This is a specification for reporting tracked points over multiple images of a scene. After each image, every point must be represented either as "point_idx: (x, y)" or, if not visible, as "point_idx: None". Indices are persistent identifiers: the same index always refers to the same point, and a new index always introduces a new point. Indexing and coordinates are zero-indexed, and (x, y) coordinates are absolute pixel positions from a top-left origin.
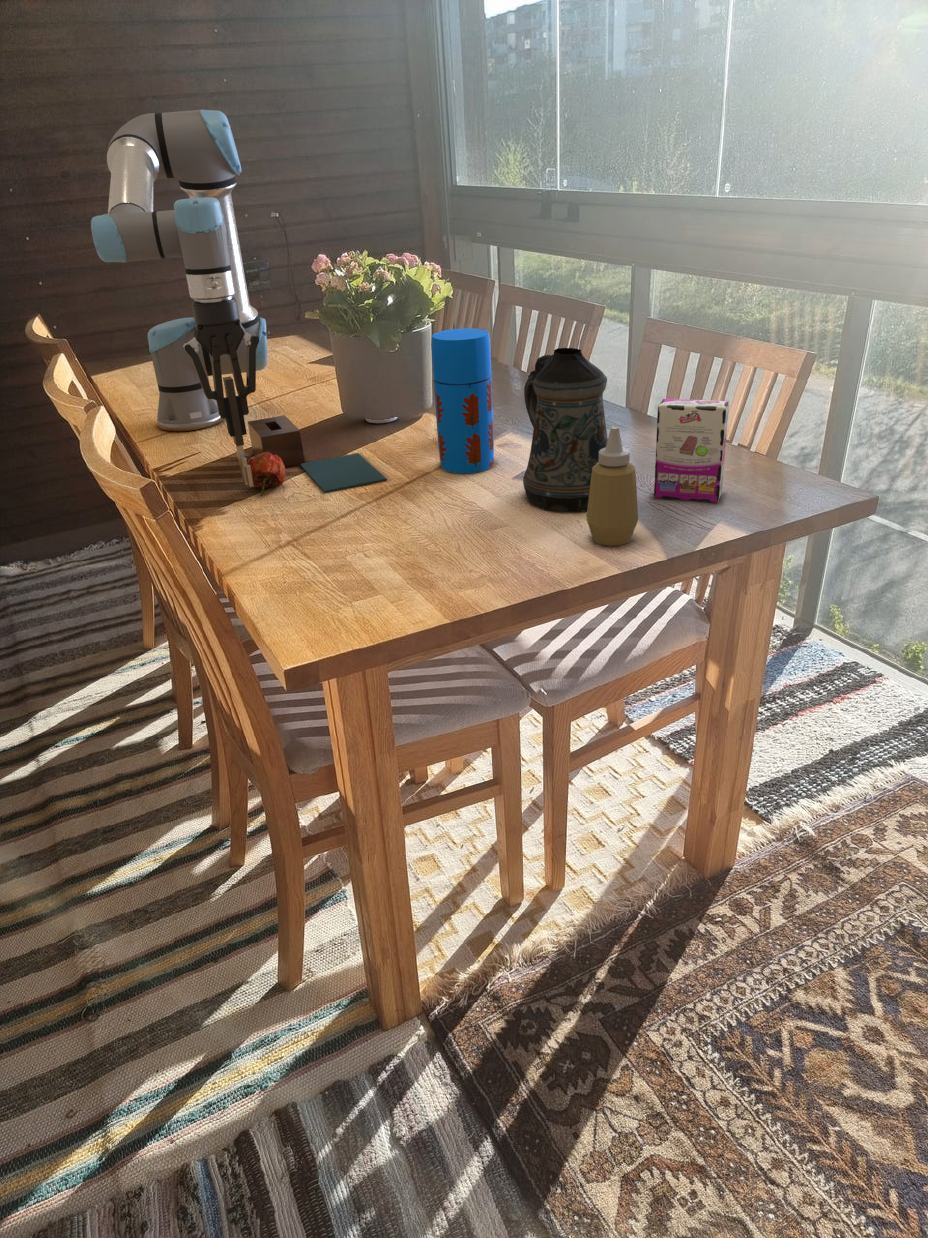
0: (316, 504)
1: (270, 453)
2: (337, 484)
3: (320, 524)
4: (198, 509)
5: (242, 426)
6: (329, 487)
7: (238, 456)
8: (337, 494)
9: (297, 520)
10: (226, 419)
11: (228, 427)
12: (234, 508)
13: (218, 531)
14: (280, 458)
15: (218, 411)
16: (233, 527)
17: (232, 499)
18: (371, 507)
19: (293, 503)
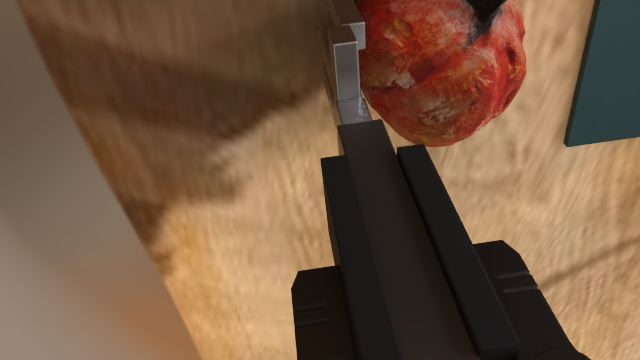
0: (503, 215)
1: (493, 98)
2: (633, 106)
3: None
4: (137, 133)
5: None
6: (597, 123)
7: (335, 93)
8: (589, 166)
9: None
10: (336, 248)
11: (331, 234)
12: (266, 166)
13: (219, 294)
14: (524, 75)
15: (294, 314)
16: (258, 283)
17: (261, 83)
18: (608, 270)
19: (448, 188)
